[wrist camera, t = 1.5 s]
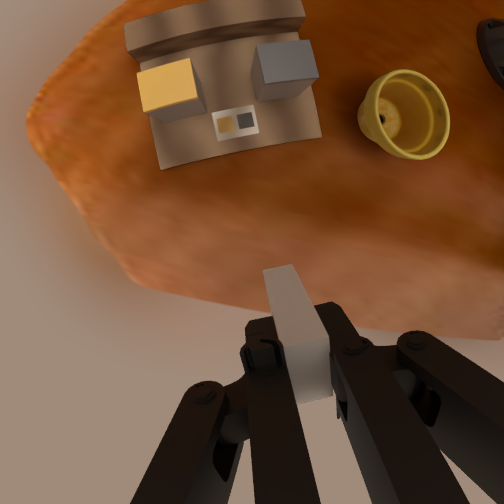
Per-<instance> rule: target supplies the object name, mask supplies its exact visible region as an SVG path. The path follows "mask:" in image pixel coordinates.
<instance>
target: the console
mask: <svg viewBox="0 0 504 504" xmlns="http://www.w3.org/2000/svg"><path fill="white" fill-rule="evenodd" d="M305 17H306V15H305V12H304V8H303V5H302V2H301V0H208V1H203V2H199V3H194V4H190V5H185V6H181V7H177V8H174V9H170V10H166V11H163V12H159V13H156V14H153V15H149V16H146V17H143V18H140V19H137V20H134V21H131V22H129V23H126V24H124V31H125V39H126V47H127V52H128V53H129V54H130V55H131V56H132V57H134V58H135V59H136V60H137V61H138V62H139V63H140V68H141V72H142V71H145V70H148V69H152V68H155V67H158V66H161V65H165V64H168V63H172V62H176V61H179V60H183V59H187V58H190V60H191V62H192V64H193V66H194V68H195V71H196V73H197V75H198V77H199V79H200V81H201V85H202V90H203V95H204V100H205V104H206V109H207V113H203V114H198V115H194V116H190V117H186V118H183V119H179V120H175V121H171V122H168V123H166V122H164V121H162V120H160V119H158V118H155V117H153V116H151V115H149V118H150V123H151V128H152V133H153V138H154V143H155V147H156V152H157V156H158V161H159V165H160V170H163V169H167V168H171V167H174V166H178V165H182V164H186V163H190V162H194V161H198V160H203V159H207V158H211V157H216V156H220V155H225V154H229V153H234V152H239V151H244V150H249V149H254V148H259V147H265V146H270V145H276V144H281V143H287V142H294V141H300V140H306V139H313V138H320V137H322V134H321V129H320V124H319V119H318V114H317V110H316V105H315V100H314V96H313V91H312V87H311V85H310V86H309V87H308V88H307V89H305V90H304V91H303V92H302V93H301V94H300V95H299V96H297V97H289V98H282V99H275V100H269V101H262V102H257V100H256V95H255V91H254V86H253V82H252V77H251V73H250V72H251V67H252V62H253V57H254V52H255V48H256V45H259V44H267V43H275V42H285V41H296V40H300V39H299V36H298V30H299V28H300V26H301V24H302V23H303V21H304V19H305Z"/></svg>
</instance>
